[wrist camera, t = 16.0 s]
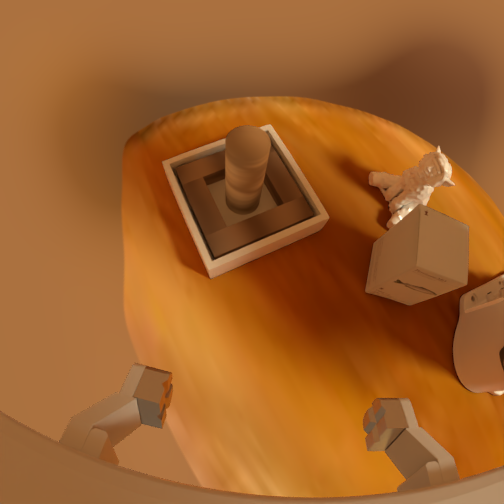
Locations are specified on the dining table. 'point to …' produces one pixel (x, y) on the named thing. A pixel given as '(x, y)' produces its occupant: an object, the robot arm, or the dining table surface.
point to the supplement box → (419, 257)
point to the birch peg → (245, 167)
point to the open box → (231, 218)
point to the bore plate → (249, 230)
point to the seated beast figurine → (412, 184)
